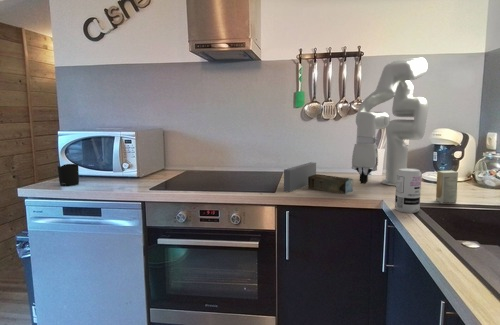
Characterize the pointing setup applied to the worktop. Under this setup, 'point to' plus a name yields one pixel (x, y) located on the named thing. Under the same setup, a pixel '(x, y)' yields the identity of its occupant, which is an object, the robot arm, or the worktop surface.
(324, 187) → the beverage carton
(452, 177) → the skincare box
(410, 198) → the supplement can
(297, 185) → the board
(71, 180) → the pen holder
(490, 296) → the worktop surface
